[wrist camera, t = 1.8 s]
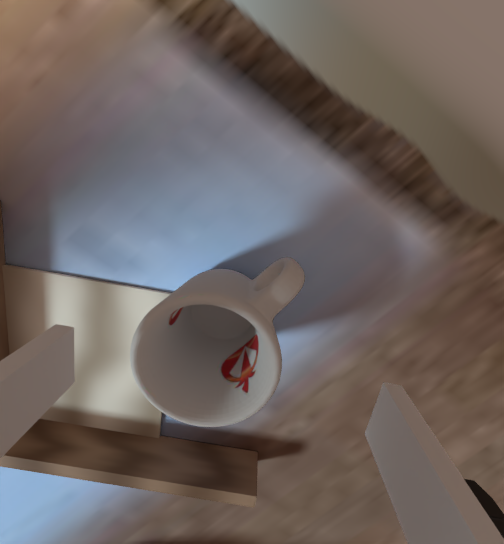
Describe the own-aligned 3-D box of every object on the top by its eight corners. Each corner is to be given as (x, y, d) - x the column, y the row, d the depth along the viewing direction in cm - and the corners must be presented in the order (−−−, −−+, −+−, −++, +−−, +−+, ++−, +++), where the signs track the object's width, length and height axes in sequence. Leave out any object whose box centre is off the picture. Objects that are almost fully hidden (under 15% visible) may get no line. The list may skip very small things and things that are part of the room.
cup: (254, 206, 20) (249, 219, 13) (326, 286, 22) (359, 341, 14) (152, 301, 23) (96, 360, 15) (223, 368, 24) (204, 452, 17)
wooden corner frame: (4, 420, 27) (-39, 459, 23) (-16, 197, 21) (-79, 200, 17) (255, 461, 27) (254, 507, 23) (302, 253, 21) (311, 268, 17)
